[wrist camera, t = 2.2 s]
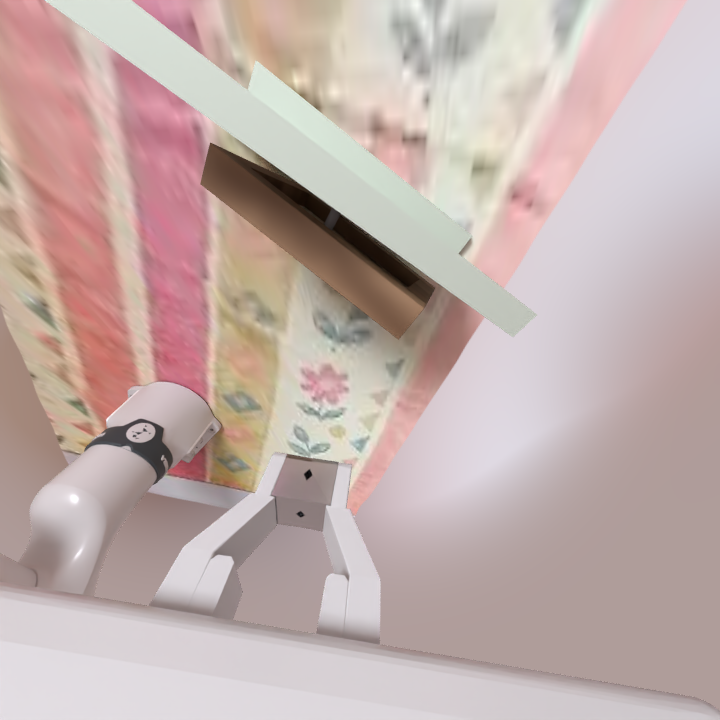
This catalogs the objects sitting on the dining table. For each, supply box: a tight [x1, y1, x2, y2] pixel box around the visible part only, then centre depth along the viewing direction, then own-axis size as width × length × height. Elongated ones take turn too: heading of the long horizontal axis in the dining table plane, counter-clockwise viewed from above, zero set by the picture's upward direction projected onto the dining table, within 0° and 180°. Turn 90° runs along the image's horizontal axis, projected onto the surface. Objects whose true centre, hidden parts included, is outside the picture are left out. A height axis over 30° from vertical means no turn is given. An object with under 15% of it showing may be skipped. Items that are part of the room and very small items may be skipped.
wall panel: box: [45, 0, 537, 337], centre depth 23 cm, size 8×30×22 cm, turn 58°
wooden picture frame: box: [200, 143, 435, 340], centre depth 26 cm, size 3×20×14 cm, turn 58°
